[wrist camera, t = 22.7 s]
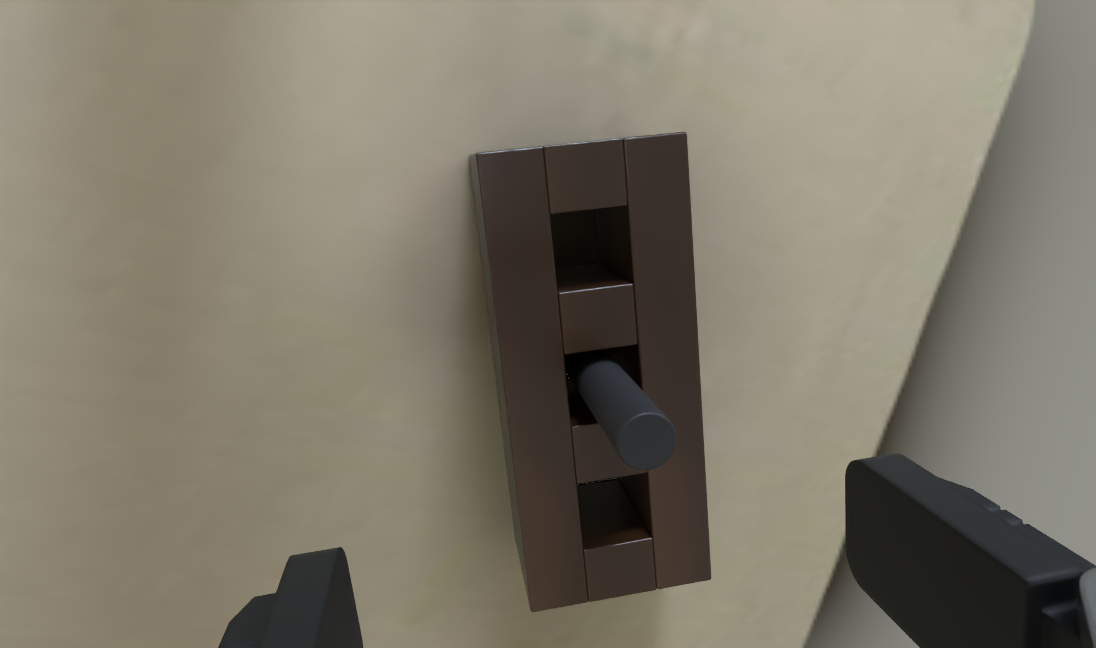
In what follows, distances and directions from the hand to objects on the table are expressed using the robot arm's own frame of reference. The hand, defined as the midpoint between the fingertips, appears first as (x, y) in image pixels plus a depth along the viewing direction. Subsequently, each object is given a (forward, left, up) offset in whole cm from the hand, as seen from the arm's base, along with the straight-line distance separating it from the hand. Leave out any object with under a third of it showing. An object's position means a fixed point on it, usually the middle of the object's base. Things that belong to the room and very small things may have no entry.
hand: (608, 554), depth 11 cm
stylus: (+3, +4, -23) cm, 24 cm away
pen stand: (+3, +4, -23) cm, 24 cm away
